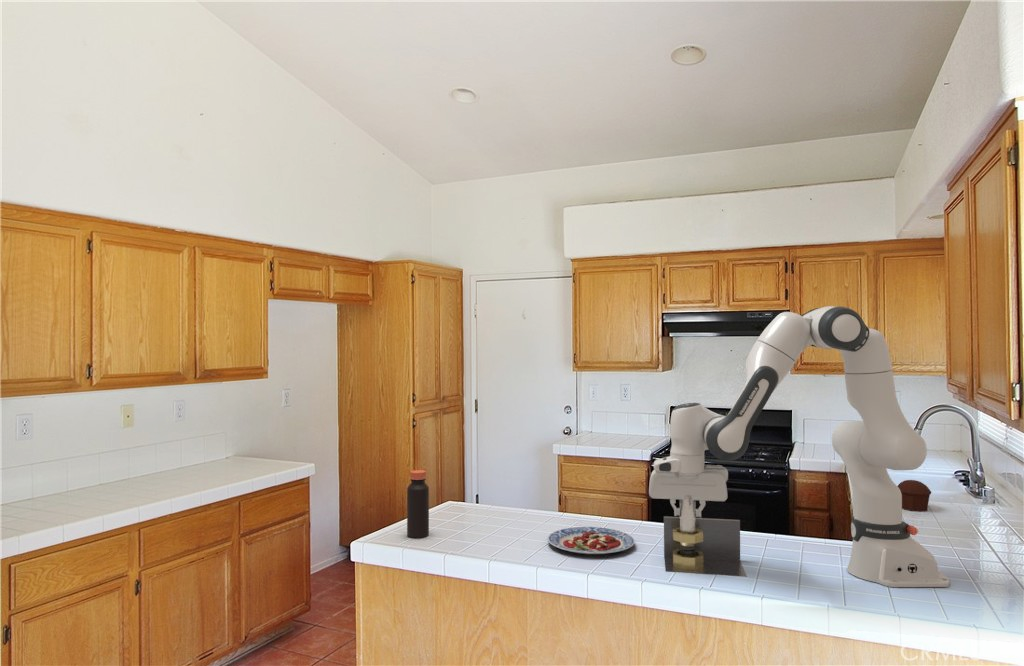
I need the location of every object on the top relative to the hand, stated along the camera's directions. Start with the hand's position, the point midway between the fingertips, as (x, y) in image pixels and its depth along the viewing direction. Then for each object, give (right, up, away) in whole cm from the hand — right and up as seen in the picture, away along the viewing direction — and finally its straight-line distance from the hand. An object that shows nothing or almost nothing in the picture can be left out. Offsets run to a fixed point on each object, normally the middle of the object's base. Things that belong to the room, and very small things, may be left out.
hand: (687, 516), depth 175 cm
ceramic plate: (-23, -15, +21) cm, 35 cm away
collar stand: (+4, -14, -1) cm, 15 cm away
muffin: (+98, -15, +63) cm, 118 cm away
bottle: (-76, -15, +31) cm, 84 cm away
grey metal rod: (0, -11, 0) cm, 11 cm away
